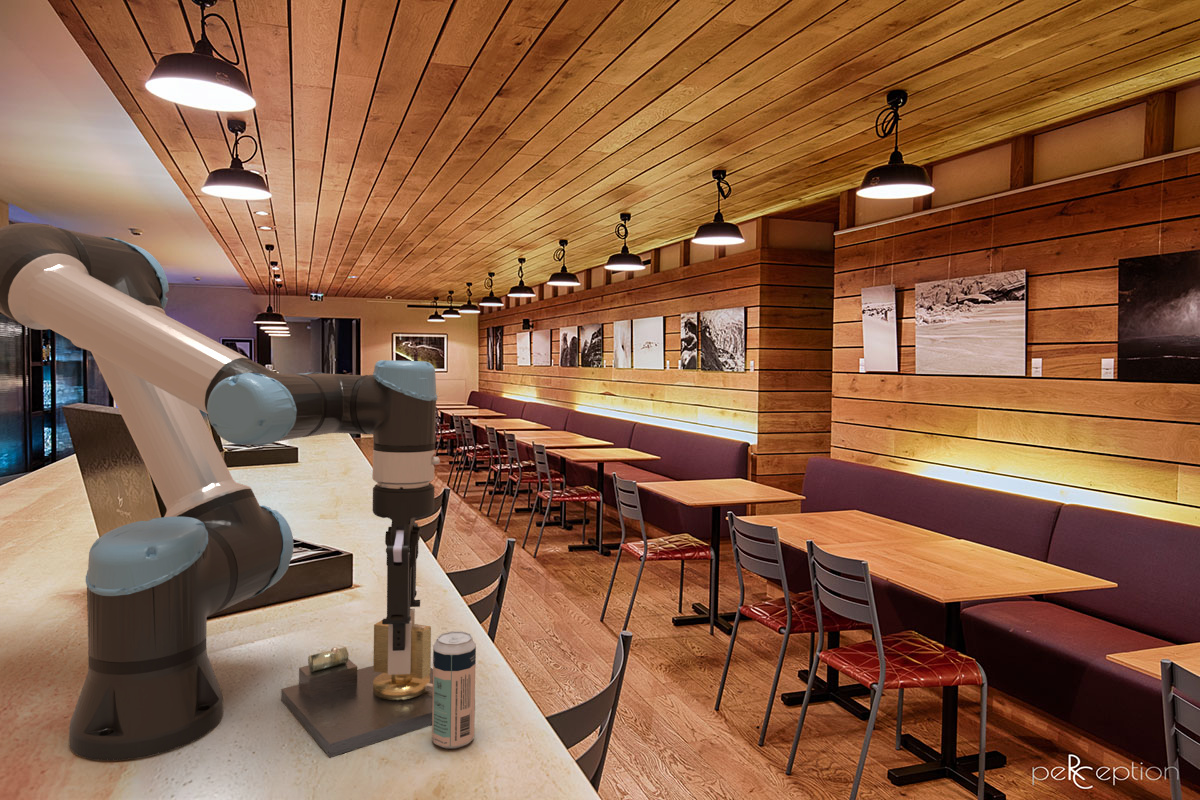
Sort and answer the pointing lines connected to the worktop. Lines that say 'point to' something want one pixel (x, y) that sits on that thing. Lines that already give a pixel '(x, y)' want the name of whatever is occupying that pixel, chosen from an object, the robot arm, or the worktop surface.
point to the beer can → (453, 690)
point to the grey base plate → (350, 704)
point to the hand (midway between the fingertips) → (401, 665)
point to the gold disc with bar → (420, 665)
